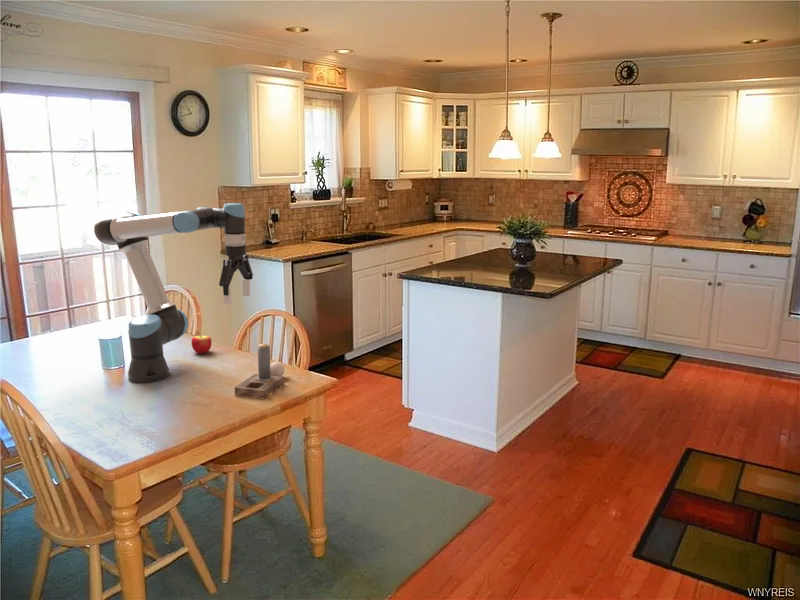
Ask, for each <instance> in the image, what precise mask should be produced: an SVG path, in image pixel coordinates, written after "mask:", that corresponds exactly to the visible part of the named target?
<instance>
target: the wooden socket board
mask: <svg viewBox="0 0 800 600" xmlns="http://www.w3.org/2000/svg"><path fill="white" fill-rule="evenodd" d="M284 381H285V379H284V376H281V377H279V376H271V378H270V379H265V380H262V379H259V373H254V374H252V375H251V376H250V377H248V378H247V379H245V380H244V381H241V383H239V384H237V385H236V386H235V387H234V396H238V397H245V396H246V397H245V398H253V397H255V398H256V399H262V398H264V399H263V400H265V398H266V397H267V398H269V397H270V396H271V395H272V394H274V393H275V392H276V391H277V390H279V389H280V388H281V387H282V386H283V385H282V384H284V385H285V383H284ZM281 385H282V386H281ZM280 386H281V387H280ZM279 387H280V388H279ZM278 388H279V389H278ZM276 389H277V390H276ZM275 390H276V391H275ZM274 391H275V392H274ZM271 393H272V394H271ZM270 394H271V395H270ZM269 395H270V396H269ZM267 398H266V399H267Z"/></svg>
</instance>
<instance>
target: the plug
mask: <svg viewBox="0 0 800 600" xmlns="http://www.w3.org/2000/svg"><path fill="white" fill-rule="evenodd" d="M270 349H271V346H270V345H269V344H268V343H259V344H258V346H257V367H258V371H257V372H258V374H259V379H262V380H265V379H270V378H271V370H270V364H271V352H270V351H271V350H270Z"/></svg>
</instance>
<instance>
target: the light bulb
mask: <svg viewBox="0 0 800 600" xmlns="http://www.w3.org/2000/svg"><path fill="white" fill-rule="evenodd" d="M270 370H271V376H279V377H284V374H285V367H284V365H283V364H282V363H281V362H279V361H274V362H272V363H271V362H270Z"/></svg>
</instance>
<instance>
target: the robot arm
mask: <svg viewBox="0 0 800 600" xmlns="http://www.w3.org/2000/svg"><path fill="white" fill-rule="evenodd" d="M245 212H246V211H245V206H244V204H242V203H239V202H238V203H237V202H229V203H228V202H227V203H224V204H223V208H222V207H221V208H220V207H208V206H203V207H202V206H199V207H197V208H196V209H189V210H182V211H174V212H167V213H159V214H150V215H142V214H140V213H139V212H133V211H131V212H130V211H125V212H120V213H111V214H107V215H106V214H105V215H103V216H101V217H99V218H98V219H97V221H96V222H95V224H94V228H93V230H94V231H93V232H94V235H95V237H96V238H97V240H98V241H99V242H101V243H102V244H104V245H109V246H115V245H117V248H118V250H119V252H123V253H124V254H125V257H126V259H127V261H128V263H129V265H130V268H131V270H132V274H133V275H134V278H135V280H136V282H137V285H138V287H139V290H140V292H141V295H142V297H143V299H144V301H145V303H146V306H147V309H148V310H147V313H146V314H143V315H139V316H136V317H133V318H132V319H131V320H130V321H129V322H128V333H127V334H128V337H129V338H128V340H129V346H130V348H129V349H130V356H131V357H130V358H131V359H130V364H129V366H128V371H127V378H128V380H129V381H130V382H133V383H138V384H140V383H141V384H144V383H145V384H146V383H153V382H155V383H156V382H159V381H162V380H165V379H167V378H168V377H169V376H170V374H171V373H170V372H171V371H170V367H169V365H168V362H167V361H166V358H165V355H164V347H163V345H166V344H168V343H171V342H172V341H176V340H178V339H180V338H181V337H182V336H184V335H185V334H186V332H187V330H188V328H189V327H188V326H189V321H188V320H189V319H188V317H187V315H186V313H185V312H184V311H182V310H181V309H178V308H177V306H176V304H175V303H174V302H172V301H170V299H169V297H168V294H167V292H166V289H165V287H164V285H163V282H162V279H161V277H160V275H159V272H158V269H157V267H156V265H155V263H154V260H153V258H152V256H151V253H150V251H149V248H148V244H149V241H150V240H149V238H148V237H154V236H155V237H156V236H163V235H171V234H181V233H185V234H187V233H193V232H197V231H202V230H206V229H207V230H208V229H213V228H214V229H223V230H224V245H225V246H224V248H225V249H224V251H225V256H227V257H228V259H223V261H222V270H221V273H220V277H219V278H220V279H219V282H218V283H219V284H218V286H220V287H222V291H223V304H227V305H231V304H232V287H231V283H232V279H233V277H234V274H235V273H236V272H237V270H238V271H239V272H240V275H241V276H242V277H243V279H242V296H243V297H250V296H251V285H250V284H251V283H250V281H251V280H253V277H254V274H253V271H252V268H251V264H250V261H249V255H248V254H247V248H246V245H245V244H246V219H245V218H246V213H245Z"/></svg>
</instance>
